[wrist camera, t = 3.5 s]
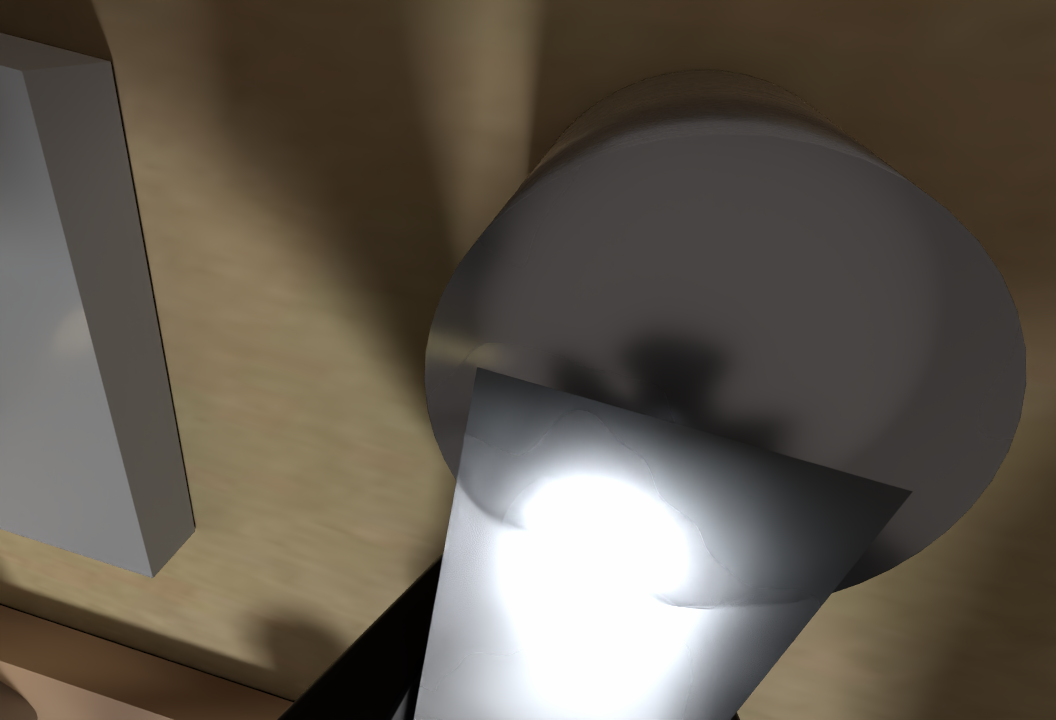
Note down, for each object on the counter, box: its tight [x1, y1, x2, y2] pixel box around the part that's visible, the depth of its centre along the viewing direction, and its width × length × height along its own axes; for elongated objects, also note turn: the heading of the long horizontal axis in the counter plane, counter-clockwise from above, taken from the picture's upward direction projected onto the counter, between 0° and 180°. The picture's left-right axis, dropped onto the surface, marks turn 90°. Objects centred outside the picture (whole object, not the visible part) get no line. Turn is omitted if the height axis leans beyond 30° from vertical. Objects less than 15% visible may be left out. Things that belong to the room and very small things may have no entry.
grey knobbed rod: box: [414, 70, 1026, 720], centre depth 9 cm, size 15×4×4 cm, turn 169°
